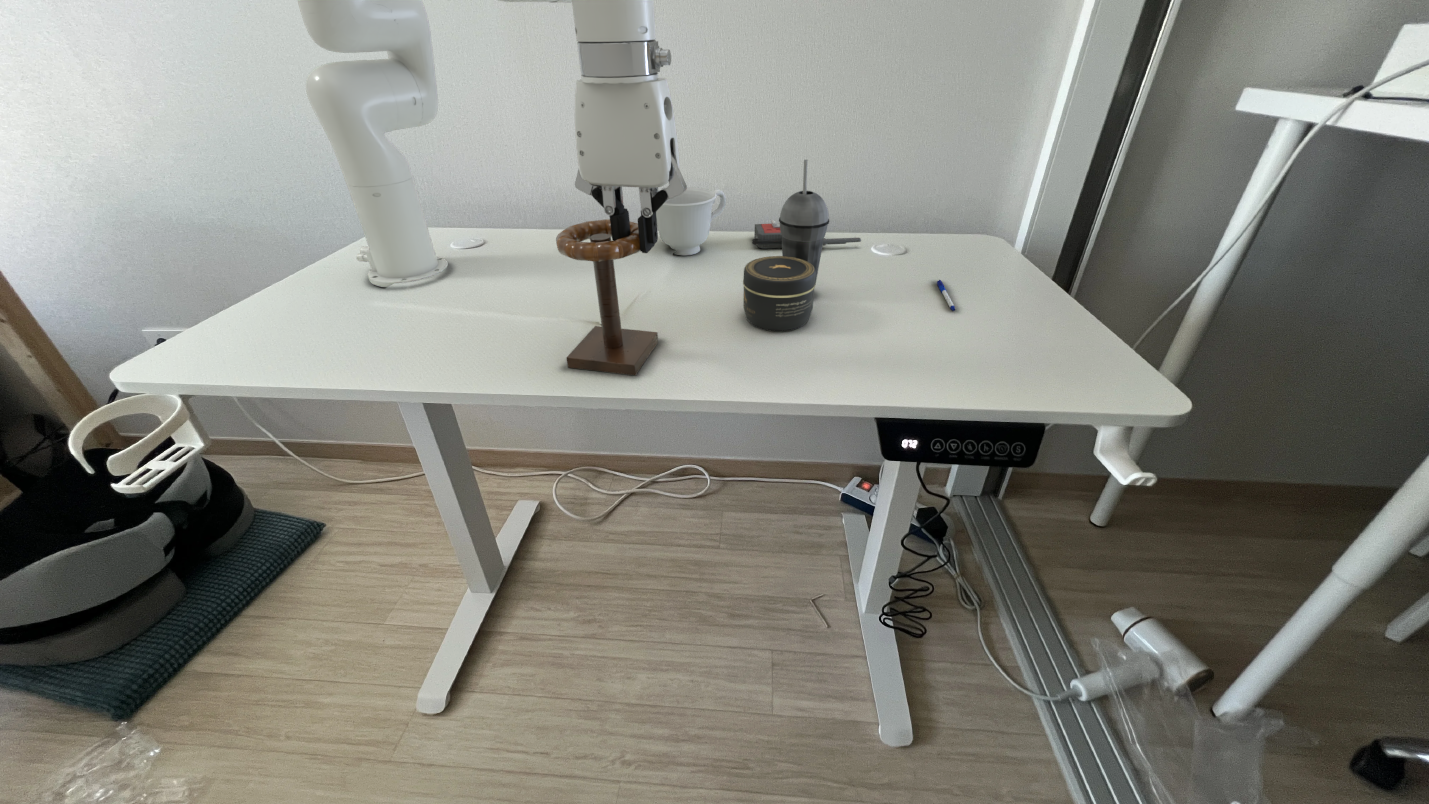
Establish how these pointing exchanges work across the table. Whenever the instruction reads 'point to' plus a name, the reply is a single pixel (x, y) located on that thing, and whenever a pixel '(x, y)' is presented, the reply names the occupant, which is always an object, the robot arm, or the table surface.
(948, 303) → the blue marker pen
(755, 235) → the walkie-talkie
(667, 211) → the teacup
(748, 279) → the jar
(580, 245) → the ring
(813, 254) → the beverage cup
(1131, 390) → the table surface
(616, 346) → the post
